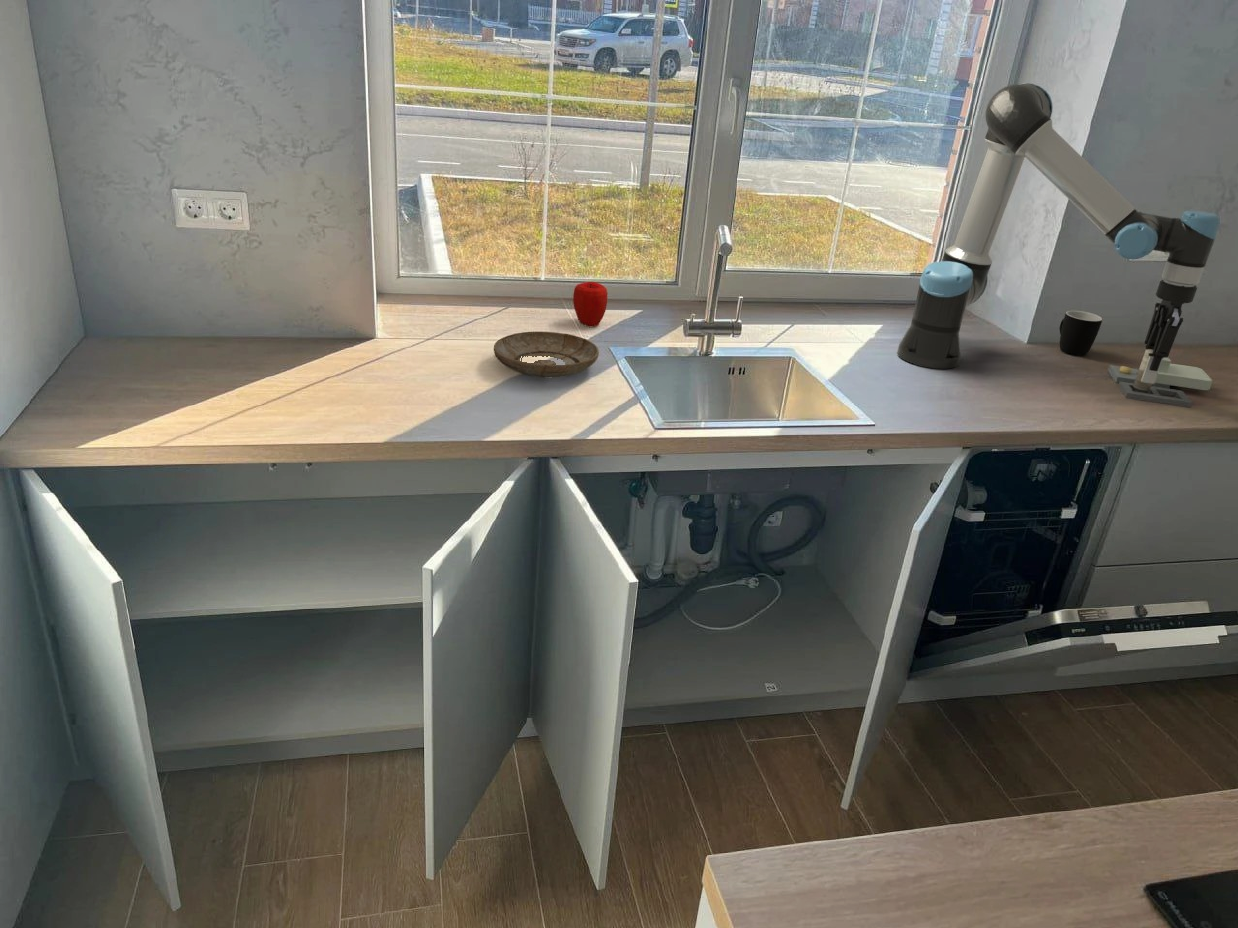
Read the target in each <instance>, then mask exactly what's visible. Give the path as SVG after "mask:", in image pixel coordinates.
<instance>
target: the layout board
mask: <svg viewBox="0 0 1238 928" xmlns="http://www.w3.org/2000/svg"><path fill="white" fill-rule="evenodd" d="M1107 371H1108V373H1109V374H1110V376H1111V378H1112V379H1113V381H1114V382H1115V384H1116V383H1117V384H1119V382H1127V383H1133V384H1134V382H1135V380H1136V377H1137V374H1138V371H1139V368H1131V367H1129V366H1124V365H1120V366H1118V365H1117V366H1116V365H1111V364H1109V367H1108V369H1107ZM1151 386H1153V387H1160V388H1167V389H1171V388H1170V387H1171V385H1167V384H1160V383H1154V384H1152V385H1151Z"/></svg>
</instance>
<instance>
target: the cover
mask: <svg viewBox="0 0 1238 928" xmlns="http://www.w3.org/2000/svg"><path fill="white" fill-rule="evenodd" d="M1171 362H1172V360H1171V359H1170V358H1169V356H1168V357H1167V358H1163V360H1162V363H1161V366H1160V369H1159V371H1158V374H1157V377H1156V380H1155V383H1160V384H1167V385H1170V386H1175V387H1182V388H1188V389H1193V390H1202V391H1210V389H1211V386H1212V384H1213V381H1214V380H1213V379H1212V378H1211V377H1210V376H1209V375H1208V374H1207V373H1206V372H1205V371H1204V369H1202V368H1200V367H1197V366H1191V365H1184V364H1176V363H1171Z"/></svg>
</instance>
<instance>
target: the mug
mask: <svg viewBox="0 0 1238 928" xmlns="http://www.w3.org/2000/svg"><path fill="white" fill-rule="evenodd" d="M1102 322H1103V318H1102V317H1101V316H1099V315H1098V314H1095V313H1092V312H1088V311H1082V310H1068V311H1066V312H1065V314H1064V317H1063V318H1062V320H1061V321H1060V324H1059V334H1060V337H1059V350H1060V351H1061V352H1062V353H1063V354H1066V355H1070V356H1075V357H1084V356H1086V355H1087V354H1088V353H1089V351H1090V350H1091V348H1092V347H1093V345H1094V343H1095V340H1096V338H1097V336H1098V333H1099V331H1100V329H1101V326H1102Z"/></svg>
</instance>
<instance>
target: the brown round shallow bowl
mask: <svg viewBox="0 0 1238 928" xmlns="http://www.w3.org/2000/svg"><path fill="white" fill-rule="evenodd" d="M493 353H494V356H495V357H496V359H497V360H498V362H500V363H501V364H502V365H504V366H505V367H507V368H509V369H510V370H513V371H514V372H516V373H520V374H522V375H526V376H530V377H535V376H536V377H538V378H546V377H547V378H549V377H552V378H560V377H561V378H562V377H567V376H572V375H575V374H578V373H580V372H582V371H584V370H586V369H588V368H590V367H591V366H593V365H594V364H595V362H596V361H597V360H598V358H599V356H600V355H599V353H600V351H599V348H598V347H597V345H596V344H594V342H592V341H590V340H588V339H586V338H584V337H581V336H578V335H574V334H569V333H563V332H555V331H523V332H517V333H513V334H509V335H507V336H504V337H501V338H499V339H498V340H497V341H495V343H494V344H493ZM521 356H522V358H523V357H524V356H525V357H526V356H527V357H528V356H532V357H534V356H535V357H537V356H542V357H544V356H546V357H548V356H550V357H554V358H557V360H558V359H561V360H563V362H565V365H556V363H555V362H554V361H551V360H538V361H535V362H534V363H527V362H522V358H521ZM520 358H521V361H520ZM536 377H535V378H536ZM547 378H546V379H547Z"/></svg>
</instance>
